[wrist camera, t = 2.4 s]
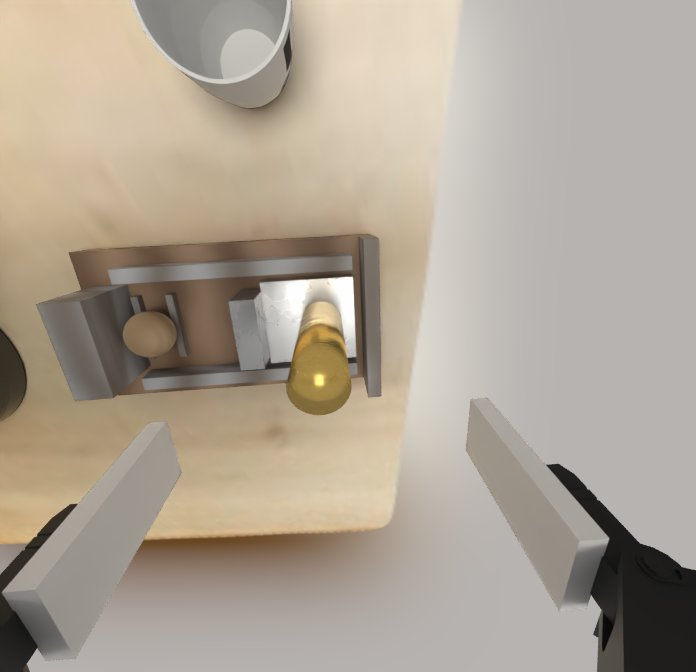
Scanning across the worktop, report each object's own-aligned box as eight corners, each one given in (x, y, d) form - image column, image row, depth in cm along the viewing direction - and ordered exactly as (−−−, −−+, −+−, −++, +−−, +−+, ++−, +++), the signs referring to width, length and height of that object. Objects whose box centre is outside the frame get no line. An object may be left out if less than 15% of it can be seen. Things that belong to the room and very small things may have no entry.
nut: (145, 348, 31) (120, 366, 27) (133, 307, 29) (105, 320, 26) (188, 345, 31) (169, 363, 27) (178, 304, 29) (157, 317, 26)
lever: (253, 357, 32) (205, 453, 19) (240, 280, 29) (174, 332, 16) (354, 350, 32) (374, 438, 20) (351, 273, 30) (370, 318, 17)
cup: (311, 120, 27) (304, 71, 18) (215, 135, 27) (158, 94, 18) (291, -6, 24) (270, -142, 15) (183, 10, 24) (95, -117, 15)
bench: (129, 385, 35) (75, 433, 27) (84, 250, 30) (3, 262, 22) (372, 367, 36) (385, 408, 28) (369, 234, 31) (383, 240, 23)
